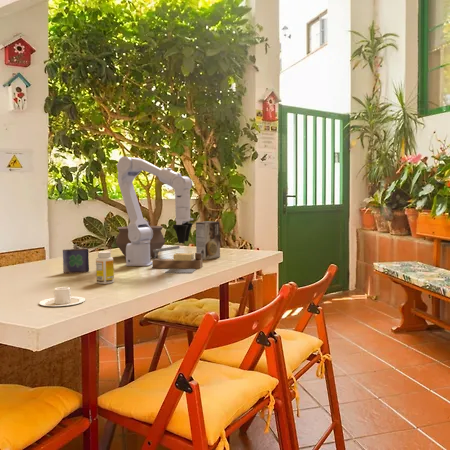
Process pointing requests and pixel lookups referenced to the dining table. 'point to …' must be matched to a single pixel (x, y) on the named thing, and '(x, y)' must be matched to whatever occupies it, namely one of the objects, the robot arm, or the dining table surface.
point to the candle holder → (62, 297)
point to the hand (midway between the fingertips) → (183, 242)
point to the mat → (180, 271)
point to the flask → (75, 260)
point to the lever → (164, 250)
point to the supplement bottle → (104, 268)
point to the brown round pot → (155, 242)
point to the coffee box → (208, 239)
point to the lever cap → (183, 256)
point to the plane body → (178, 263)
